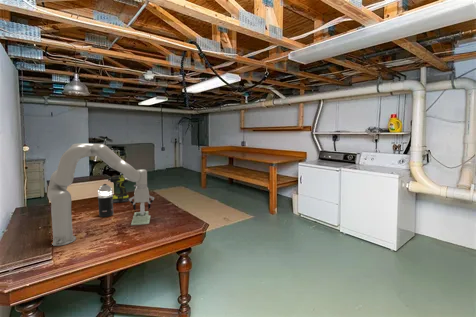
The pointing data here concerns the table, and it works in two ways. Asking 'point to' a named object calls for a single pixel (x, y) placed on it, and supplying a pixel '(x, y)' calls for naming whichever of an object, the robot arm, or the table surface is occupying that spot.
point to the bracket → (142, 209)
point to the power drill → (119, 183)
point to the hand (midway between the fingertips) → (142, 209)
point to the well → (140, 219)
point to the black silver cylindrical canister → (105, 201)
